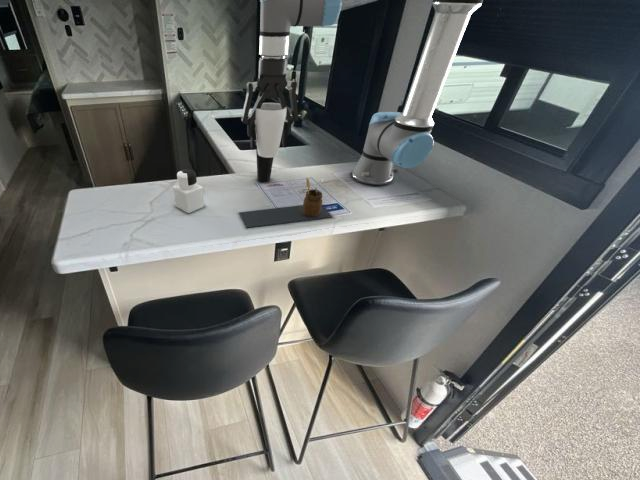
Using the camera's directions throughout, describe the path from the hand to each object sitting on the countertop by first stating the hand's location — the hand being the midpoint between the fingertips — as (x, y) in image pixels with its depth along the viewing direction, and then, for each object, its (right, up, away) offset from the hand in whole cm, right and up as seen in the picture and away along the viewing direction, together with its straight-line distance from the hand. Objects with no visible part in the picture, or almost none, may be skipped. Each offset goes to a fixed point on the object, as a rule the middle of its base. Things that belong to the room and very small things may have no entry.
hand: (268, 146), depth 100 cm
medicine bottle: (-26, -16, +11) cm, 32 cm away
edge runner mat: (+6, -19, +7) cm, 21 cm away
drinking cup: (+1, 0, +27) cm, 27 cm away
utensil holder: (+15, -19, +7) cm, 25 cm away
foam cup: (0, -2, +2) cm, 2 cm away
